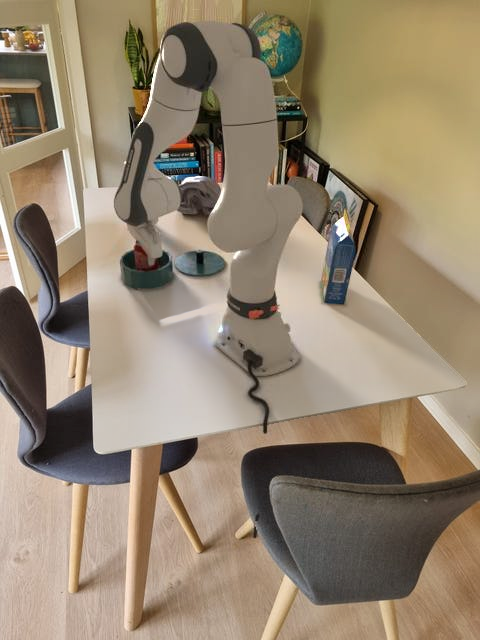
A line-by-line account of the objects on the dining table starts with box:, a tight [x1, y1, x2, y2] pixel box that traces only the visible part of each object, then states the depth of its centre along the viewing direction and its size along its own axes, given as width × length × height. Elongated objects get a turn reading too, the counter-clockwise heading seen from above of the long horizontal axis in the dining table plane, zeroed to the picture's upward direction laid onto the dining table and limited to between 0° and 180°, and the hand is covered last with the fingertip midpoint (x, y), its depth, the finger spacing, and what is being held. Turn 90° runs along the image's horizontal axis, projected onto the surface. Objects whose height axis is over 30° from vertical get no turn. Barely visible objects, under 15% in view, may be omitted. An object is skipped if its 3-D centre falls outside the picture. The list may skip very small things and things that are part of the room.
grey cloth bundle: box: [175, 175, 222, 216], centre depth 179 cm, size 20×18×15 cm
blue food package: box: [320, 209, 357, 306], centre depth 130 cm, size 6×12×25 cm, turn 176°
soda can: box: [133, 240, 159, 271], centre depth 136 cm, size 7×7×12 cm
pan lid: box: [173, 249, 226, 277], centre depth 146 cm, size 17×17×5 cm
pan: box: [119, 248, 174, 291], centre depth 138 cm, size 16×16×6 cm
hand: (146, 258), depth 136 cm, fingers closed on soda can, 6 cm apart
